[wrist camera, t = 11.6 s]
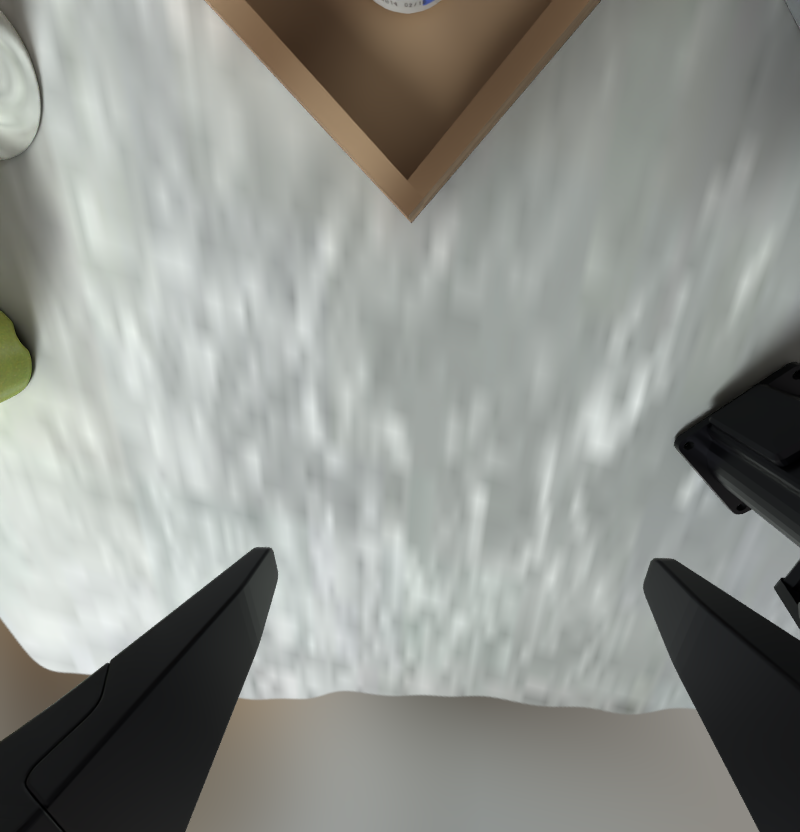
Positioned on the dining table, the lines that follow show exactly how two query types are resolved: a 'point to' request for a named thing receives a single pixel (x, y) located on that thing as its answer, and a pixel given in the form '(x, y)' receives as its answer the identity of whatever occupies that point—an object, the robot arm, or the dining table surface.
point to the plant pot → (12, 361)
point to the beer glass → (16, 93)
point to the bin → (794, 9)
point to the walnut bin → (405, 75)
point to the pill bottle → (407, 5)
